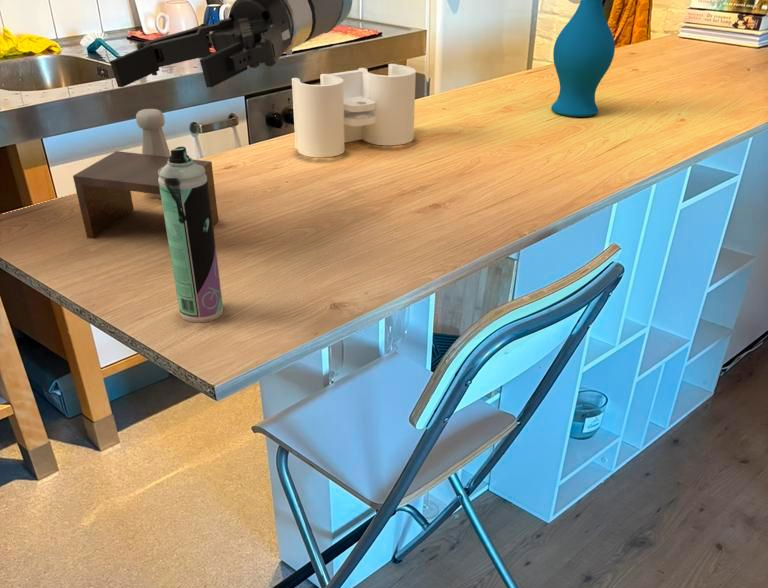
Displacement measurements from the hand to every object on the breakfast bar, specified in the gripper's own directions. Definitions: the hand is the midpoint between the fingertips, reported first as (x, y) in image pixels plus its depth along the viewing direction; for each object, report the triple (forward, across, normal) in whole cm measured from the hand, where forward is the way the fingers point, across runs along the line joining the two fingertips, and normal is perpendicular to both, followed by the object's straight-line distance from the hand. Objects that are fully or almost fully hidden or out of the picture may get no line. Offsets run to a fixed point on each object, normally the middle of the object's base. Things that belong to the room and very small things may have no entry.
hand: (159, 74), depth 90 cm
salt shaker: (-24, +32, -25) cm, 47 cm away
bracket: (-65, +19, -31) cm, 75 cm away
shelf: (-12, +23, -25) cm, 36 cm away
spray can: (+6, -1, -26) cm, 27 cm away
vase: (-110, -8, -38) cm, 117 cm away
